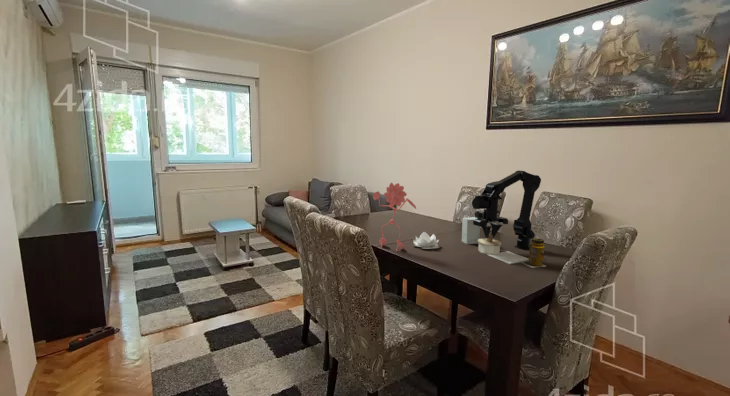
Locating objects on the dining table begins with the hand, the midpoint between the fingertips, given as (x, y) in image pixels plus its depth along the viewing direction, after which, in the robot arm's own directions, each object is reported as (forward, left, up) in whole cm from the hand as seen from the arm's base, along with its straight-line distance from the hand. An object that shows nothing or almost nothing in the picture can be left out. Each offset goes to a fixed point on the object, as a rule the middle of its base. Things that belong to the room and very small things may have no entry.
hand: (489, 237), depth 172 cm
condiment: (-5, +23, -8) cm, 25 cm away
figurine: (+42, -24, -8) cm, 49 cm away
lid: (0, 0, -3) cm, 3 cm away
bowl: (0, 0, -8) cm, 8 cm away
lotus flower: (+26, -19, -8) cm, 33 cm away
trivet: (-2, +11, -8) cm, 14 cm away
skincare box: (-2, -16, -8) cm, 18 cm away
